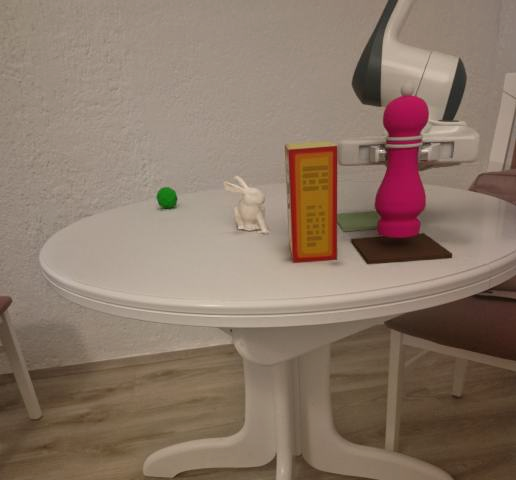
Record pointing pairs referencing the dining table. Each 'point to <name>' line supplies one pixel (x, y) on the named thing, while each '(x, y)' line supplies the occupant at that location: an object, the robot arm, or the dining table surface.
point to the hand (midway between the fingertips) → (403, 155)
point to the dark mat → (399, 249)
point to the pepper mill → (402, 167)
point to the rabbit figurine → (248, 206)
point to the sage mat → (358, 221)
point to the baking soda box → (312, 200)
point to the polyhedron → (167, 198)
